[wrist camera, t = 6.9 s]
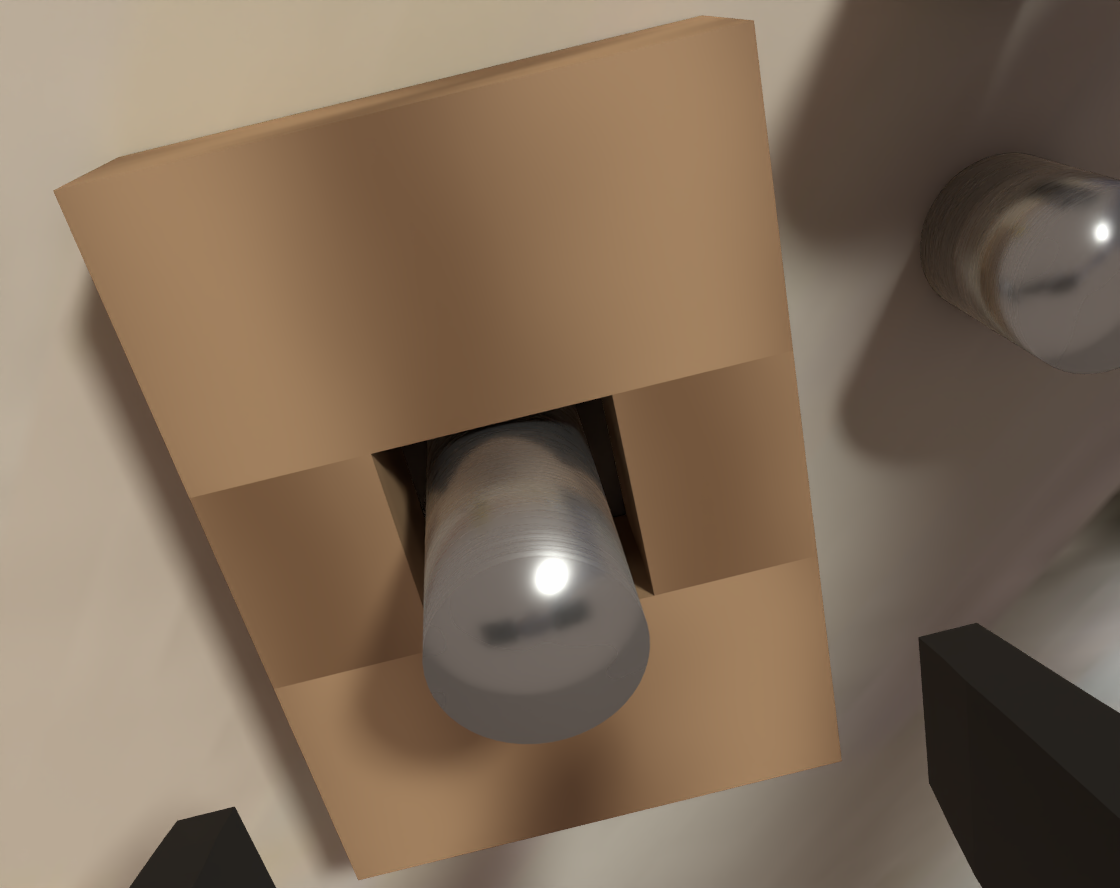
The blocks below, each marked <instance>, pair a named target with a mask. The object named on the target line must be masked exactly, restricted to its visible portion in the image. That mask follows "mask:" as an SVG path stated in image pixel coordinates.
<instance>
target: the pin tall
mask: <svg viewBox="0 0 1120 888" xmlns="http://www.w3.org/2000/svg"><path fill="white" fill-rule="evenodd" d="M649 651H650V635H649V630H648V625H647V621H646V618H645V615H644V612H643V609H642V606H641V603H640V600H639V597H638V594H637V591H636V588H635V585H634V582H633V579H632V576H631V573H630V570H629V566H628V563H627V560H626V557H625V554H624V551H623V548H622V545H621V542H620V539H619V536H618V533H617V530H616V527H615V524H614V521H613V518H612V515H611V512H610V509H609V506H608V503H607V500H606V497H605V494H604V490H603V487H602V484H601V481H600V478H599V475H598V472H597V469H596V466H595V463H594V460H593V457H592V454H591V451H590V448H589V445H588V442H587V439H586V436H585V433H584V430H583V427H582V424H581V421H580V418H579V414H578V412H577V409H576V406H575V404H573V405H569V406H564V407H560V408H556V409H552V410H548V411H544V412H540V413H536V414H532V415H528V416H524V417H519V418H515V419H511V420H507V421H503V422H499V423H495V424H491V425H487V426H483V427H479V428H474V429H470V430H466V431H462V432H458V433H454V434H450V435H446V436H442V437H438V438H434V439H429V440H427V481H426V525H425V568H424V611H423V658H422V663H423V670H424V676H425V679H426V682H427V685H428V688H429V690H430V692H431V694H432V696H433V697H434V699H435V700H436V702H437V703H438V704H439V706H440V707H441V708H442V709H443V710H444V711H445V712H446V714H447V715H448V716H449V717H451V718H452V719H453V720H454V721H456V722H457V723H458V724H460V725H461V726H463V727H465V728H466V729H468V730H470V731H472V732H474V733H476V734H478V735H481V736H483V737H486V738H490V739H493V740H496V741H501V742H507V743H515V744H541V743H549V742H555V741H559V740H563V739H567V738H570V737H573V736H576V735H579V734H581V733H583V732H586V731H588V730H590V729H592V728H594V727H596V726H597V725H599V724H601V723H602V722H604V721H605V720H607V719H608V718H609V717H611V716H612V715H613V714H615V713H616V712H617V711H618V710H619V709H620V708H621V707H622V706H623V705H624V704H625V703H626V702H627V701H628V699H629V698H630V697H631V696H632V694H633V693H634V691H635V690H636V688H637V687H638V685H639V684H640V682H641V679H642V677H643V675H644V673H645V670H646V666H647V663H648V659H649Z"/></svg>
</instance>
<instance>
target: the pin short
mask: <svg viewBox="0 0 1120 888" xmlns="http://www.w3.org/2000/svg"><path fill="white" fill-rule="evenodd" d="M920 255H921V263H922V267H923V270H924V273H925V276H926V278H927V280H928V282H929V283H930V285H931V287H932V288H933V289H934V290H935V292H936V293H937V294H938V295H939V296H940V297H942V298H943V299H944V300H945V301H947V302H949V303H950V304H952V305H953V306H955V307H957V308H958V309H960V310H962V311H963V312H965V313H966V314H968V315H970V316H971V317H973V318H974V319H976V320H978V321H979V322H981V323H983V324H984V325H986V326H987V327H989V328H991V329H992V330H994V331H995V332H997V333H999V334H1000V335H1002V336H1004V337H1005V338H1007V339H1008V340H1010V341H1012V342H1013V343H1015V344H1016V345H1018V346H1020V347H1021V348H1023V349H1025V350H1026V351H1028V352H1029V353H1031V354H1033V355H1034V356H1036V357H1037V358H1039V359H1041V360H1042V361H1044V362H1046V363H1047V364H1049V365H1051V366H1052V367H1054V368H1057V369H1060V370H1062V371H1066V372H1070V373H1077V374H1095V373H1101V372H1107V371H1110V370H1113V369H1117V368H1120V180H1117V179H1114V178H1110V177H1107V176H1103V175H1100V174H1096V173H1093V172H1089V171H1085V170H1082V169H1078V168H1075V167H1071V166H1068V165H1064V164H1061V163H1057V162H1053V161H1050V160H1046V159H1043V158H1039V157H1036V156H1032V155H1028V154H1022V153H1004V154H999V155H994V156H991V157H988V158H985V159H982V160H980V161H978V162H976V163H974V164H972V165H971V166H969V167H967V168H966V169H964V170H963V171H962V172H960V173H959V174H958V175H956V176H955V177H954V178H953V179H952V180H951V181H950V182H949V183H948V184H947V185H946V186H945V188H944V189H943V190H942V191H941V192H940V194H939V195H938V197H937V198H936V200H935V201H934V203H933V205H932V207H931V208H930V210H929V212H928V215H927V217H926V220H925V223H924V226H923V230H922V235H921V242H920Z"/></svg>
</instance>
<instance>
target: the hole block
mask: <svg viewBox="0 0 1120 888" xmlns="http://www.w3.org/2000/svg"><path fill="white" fill-rule="evenodd" d="M54 194H55V196H56V198H57V200H58V203H59V205H60V207H61V209H62V212H63V214H64V216H65V218H66V221H67V223H68V225H69V227H70V230H71V232H72V234H73V236H74V239H75V241H76V243H77V246H78V248H79V250H80V252H81V255H82V257H83V259H84V261H85V264H86V266H87V268H88V270H89V273H90V275H91V277H92V279H93V282H94V284H95V286H96V288H97V291H98V293H99V295H100V297H101V300H102V302H103V304H104V307H105V309H106V311H107V313H108V316H109V318H110V320H111V322H112V325H113V327H114V329H115V331H116V334H117V336H118V338H119V340H120V343H121V345H122V347H123V349H124V352H125V354H126V356H127V359H128V361H129V363H130V365H131V368H132V370H133V372H134V374H135V377H136V379H137V381H138V383H139V386H140V388H141V390H142V392H143V395H144V397H145V399H146V401H147V404H148V406H149V408H150V410H151V413H152V415H153V417H154V420H155V422H156V424H157V426H158V429H159V431H160V433H161V435H162V438H163V440H164V442H165V444H166V447H167V449H168V451H169V453H170V456H171V458H172V460H173V462H174V465H175V467H176V469H177V472H178V474H179V476H180V478H181V481H182V483H183V485H184V487H185V490H186V492H187V494H188V496H189V499H190V501H191V503H192V505H193V508H194V510H195V512H196V514H197V517H198V519H199V521H200V523H201V526H202V528H203V530H204V533H205V535H206V537H207V539H208V542H209V544H210V546H211V548H212V551H213V553H214V555H215V557H216V560H217V562H218V564H219V566H220V569H221V571H222V573H223V575H224V578H225V580H226V582H227V585H228V587H229V589H230V591H231V594H232V596H233V598H234V600H235V603H236V605H237V607H238V609H239V612H240V614H241V616H242V618H243V621H244V623H245V625H246V627H247V630H248V632H249V634H250V636H251V639H252V641H253V643H254V646H255V648H256V650H257V652H258V655H259V657H260V659H261V661H262V664H263V666H264V668H265V670H266V673H267V675H268V677H269V679H270V682H271V684H272V686H273V688H274V691H275V693H276V695H277V698H278V700H279V702H280V704H281V707H282V709H283V711H284V713H285V716H286V718H287V720H288V722H289V725H290V727H291V729H292V731H293V734H294V736H295V738H296V740H297V743H298V745H299V747H300V749H301V752H302V754H303V756H304V759H305V761H306V763H307V765H308V768H309V770H310V772H311V774H312V777H313V779H314V781H315V783H316V786H317V788H318V790H319V792H320V795H321V797H322V799H323V801H324V804H325V806H326V808H327V811H328V813H329V815H330V817H331V820H332V822H333V824H334V826H335V829H336V831H337V833H338V835H339V838H340V840H341V842H342V844H343V847H344V849H345V851H346V853H347V856H348V858H349V860H350V862H351V865H352V867H353V869H354V872H355V874H356V876H357V878H358V880H361V879H365V878H369V877H374V876H378V875H382V874H386V873H390V872H394V871H398V870H402V869H406V868H410V867H414V866H418V865H422V864H426V863H430V862H434V861H438V860H443V859H447V858H451V857H455V856H459V855H463V854H467V853H471V852H475V851H479V850H483V849H487V848H491V847H495V846H499V845H503V844H507V843H512V842H516V841H520V840H524V839H528V838H532V837H536V836H540V835H544V834H548V833H552V832H556V831H560V830H564V829H568V828H572V827H576V826H580V825H585V824H589V823H593V822H597V821H601V820H605V819H609V818H613V817H617V816H621V815H625V814H629V813H633V812H637V811H641V810H645V809H649V808H654V807H658V806H662V805H666V804H670V803H674V802H678V801H682V800H686V799H690V798H694V797H698V796H702V795H706V794H710V793H714V792H718V791H723V790H727V789H731V788H735V787H739V786H743V785H747V784H751V783H755V782H759V781H763V780H767V779H771V778H775V777H779V776H783V775H787V774H791V773H796V772H800V771H804V770H808V769H812V768H816V767H820V766H824V765H828V764H832V763H836V762H840V761H842V760H841V751H840V743H839V734H838V726H837V718H836V709H835V701H834V692H833V684H832V675H831V667H830V659H829V650H828V642H827V633H826V625H825V616H824V608H823V600H822V591H821V583H820V574H819V566H818V557H817V549H816V541H815V532H814V524H813V515H812V507H811V498H810V490H809V482H808V473H807V465H806V456H805V448H804V439H803V431H802V423H801V414H800V406H799V397H798V389H797V380H796V372H795V364H794V355H793V347H792V338H791V330H790V321H789V313H788V305H787V296H786V288H785V279H784V271H783V262H782V254H781V246H780V237H779V229H778V220H777V212H776V203H775V195H774V187H773V178H772V170H771V161H770V153H769V144H768V136H767V128H766V119H765V111H764V102H763V94H762V85H761V77H760V69H759V60H758V52H757V43H756V35H755V26H754V21H753V20H743V19H733V18H723V17H712V16H698V17H694V18H690V19H686V20H682V21H678V22H674V23H669V24H665V25H661V26H657V27H653V28H649V29H645V30H641V31H636V32H632V33H628V34H624V35H620V36H616V37H612V38H608V39H604V40H599V41H595V42H591V43H587V44H583V45H579V46H575V47H571V48H566V49H562V50H558V51H554V52H550V53H546V54H542V55H538V56H534V57H529V58H525V59H521V60H517V61H513V62H509V63H505V64H501V65H496V66H492V67H488V68H484V69H480V70H476V71H472V72H468V73H463V74H459V75H455V76H451V77H447V78H443V79H439V80H435V81H431V82H426V83H422V84H418V85H414V86H410V87H406V88H402V89H398V90H393V91H389V92H385V93H381V94H377V95H373V96H369V97H365V98H361V99H356V100H352V101H348V102H344V103H340V104H336V105H332V106H328V107H323V108H319V109H315V110H311V111H307V112H303V113H299V114H295V115H291V116H286V117H282V118H278V119H274V120H270V121H266V122H262V123H258V124H253V125H249V126H245V127H241V128H237V129H233V130H229V131H225V132H220V133H216V134H212V135H208V136H204V137H200V138H196V139H192V140H188V141H183V142H179V143H175V144H171V145H167V146H163V147H159V148H155V149H150V150H146V151H142V152H138V153H134V154H130V155H126V156H122V157H118V158H116V159H114V160H112V161H110V162H108V163H106V164H104V165H102V166H100V167H99V168H97V169H95V170H93V171H91V172H89V173H87V174H85V175H83V176H81V177H79V178H77V179H75V180H73V181H71V182H69V183H67V184H65V185H63V186H61V187H60V188H58V189H56V190H54ZM597 398H601V400H602V404H603V409H604V413H605V418H606V423H607V427H608V432H609V437H610V441H611V446H612V450H613V455H614V460H615V464H616V469H617V474H618V478H619V483H620V487H621V492H622V497H623V501H624V506H625V510H626V515H622V516H618V517H614V518H613V521H614V524H615V527H616V530H617V533H618V536H619V539H620V542H621V545H622V548H623V551H624V554H625V557H626V560H627V563H628V566H629V570H630V573H631V576H632V579H633V582H634V585H635V588H636V591H637V594H638V597H639V600H640V603H641V606H642V609H643V612H644V615H645V618H646V621H647V625H648V630H649V635H650V651H649V659H648V663H647V666H646V670H645V673H644V675H643V677H642V679H641V682H640V684H639V685H638V687H637V688H636V690H635V691H634V693H633V694H632V696H631V697H630V698H629V699H628V701H627V702H626V703H625V704H624V705H623V706H622V707H621V708H620V709H619V710H618V711H617V712H616V713H615V714H613V715H612V716H611V717H609V718H608V719H607V720H605V721H604V722H602V723H601V724H599V725H597V726H596V727H594V728H592V729H590V730H588V731H586V732H583V733H581V734H579V735H576V736H573V737H570V738H567V739H563V740H559V741H555V742H549V743H541V744H515V743H507V742H501V741H496V740H493V739H490V738H486V737H483V736H481V735H478V734H476V733H474V732H472V731H470V730H468V729H466V728H465V727H463V726H461V725H460V724H458V723H457V722H456V721H454V720H453V719H452V718H451V717H449V716H448V715H447V714H446V712H445V711H444V710H443V709H442V708H441V707H440V706H439V704H438V703H437V702H436V700H435V699H434V697H433V696H432V694H431V692H430V690H429V688H428V685H427V682H426V679H425V676H424V670H423V663H422V658H423V611H424V568H425V525H426V521H425V518H424V515H423V512H422V509H421V506H420V503H419V500H418V497H417V494H416V490H415V487H414V484H413V481H412V478H411V475H410V472H409V469H408V466H407V463H406V460H405V456H404V453H403V450H402V447H401V446H405V445H409V444H413V443H417V442H421V441H425V440H429V439H434V438H438V437H442V436H446V435H450V434H454V433H458V432H462V431H466V430H470V429H474V428H479V427H483V426H487V425H491V424H495V423H499V422H503V421H507V420H511V419H515V418H519V417H524V416H528V415H532V414H536V413H540V412H544V411H548V410H552V409H556V408H560V407H564V406H569V405H573V404H577V403H581V402H585V401H589V400H593V399H597Z"/></svg>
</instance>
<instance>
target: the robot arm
mask: <svg viewBox="0 0 1120 888" xmlns="http://www.w3.org/2000/svg"><path fill="white" fill-rule="evenodd" d="M919 650H920V664H921V678H922V692H923V706H924V719H925V733H926V747H927V761H928V775H929V784H930V786H931V788H932V790H933V792H934V794H935V796H936V798H937V800H938V802H939V804H940V807H941V809H942V811H943V813H944V815H945V817H946V819H947V821H948V823H949V825H950V827H951V829H952V831H953V834H954V836H955V837H956V839H957V841H958V843H959V845H960V847H961V849H962V851H963V853H964V855H965V857H966V859H967V861H968V863H969V865H970V867H971V869H972V871H973V873H974V875H975V877H976V878H977V880H978V882H979V883H980V885H981V886H982V888H1120V713H1119V712H1117V711H1115V710H1114V709H1112V708H1111V707H1109V706H1107V705H1106V704H1104V703H1102V702H1101V701H1099V700H1098V699H1096V698H1094V697H1093V696H1091V695H1090V694H1088V693H1086V692H1085V691H1083V690H1082V689H1080V688H1079V687H1077V686H1075V685H1074V684H1072V683H1071V682H1069V681H1067V680H1066V679H1064V678H1063V677H1061V676H1060V675H1058V674H1056V673H1055V672H1053V671H1052V670H1050V669H1049V668H1047V667H1045V666H1044V665H1042V664H1041V663H1039V662H1038V661H1036V660H1034V659H1033V658H1031V657H1030V656H1028V655H1027V654H1025V653H1024V652H1022V651H1020V650H1019V649H1017V648H1016V647H1014V646H1012V645H1011V644H1009V643H1008V642H1006V641H1005V640H1003V639H1001V638H1000V637H998V636H997V635H995V634H993V633H992V632H990V631H989V630H987V629H986V628H984V627H982V626H981V625H979V624H978V623H974V624H970V625H966V626H962V627H958V628H954V629H950V630H946V631H942V632H938V633H934V634H930V635H926V636H922V637H919ZM130 888H276V887H275V885H274V883H273V881H272V879H271V877H270V875H269V873H268V871H267V869H266V867H265V865H264V863H263V861H262V859H261V857H260V855H259V853H258V851H257V849H256V847H255V845H254V844H253V842H252V840H251V838H250V836H249V834H248V832H247V830H246V828H245V826H244V824H243V822H242V820H241V818H240V816H239V814H238V812H237V810H236V808H235V807H231V808H227V809H223V810H219V811H215V812H211V813H207V814H203V815H199V816H195V817H191V818H187V819H183V820H179V821H177V822H176V823H175V825H174V826H173V827H172V829H171V830H170V831H169V833H168V834H167V835H166V837H165V838H164V839H163V841H162V842H161V844H160V845H159V846H158V848H157V849H156V850H155V852H154V853H153V855H152V856H151V858H150V859H149V860H148V862H147V863H146V865H145V866H144V867H143V869H142V870H141V872H140V873H139V875H138V876H137V877H136V879H135V880H134V882H133V883H132V885H131V886H130Z"/></svg>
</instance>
